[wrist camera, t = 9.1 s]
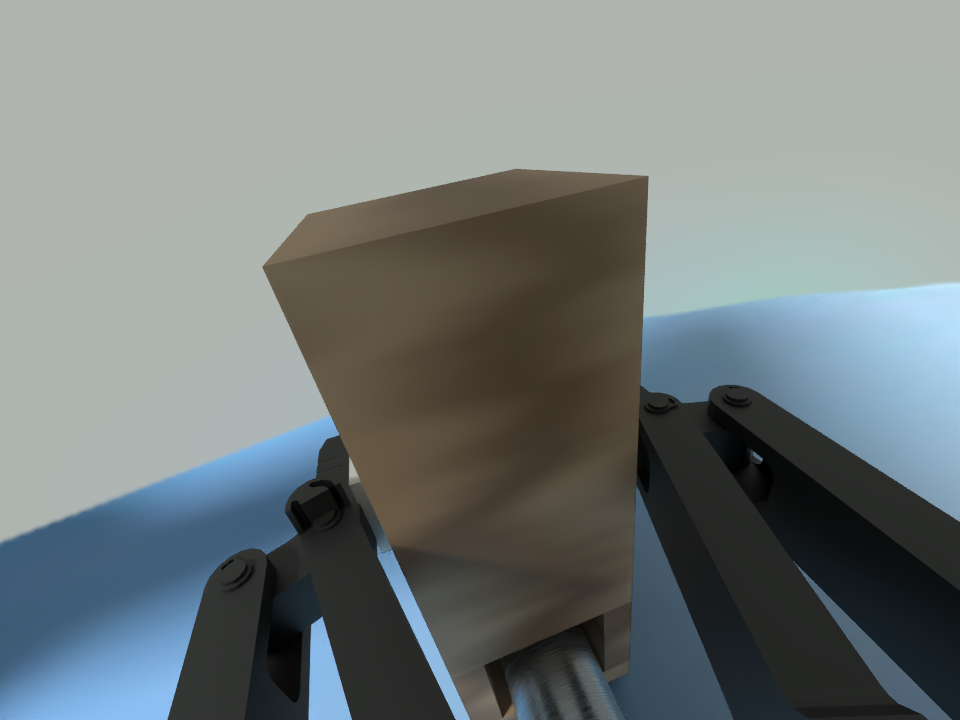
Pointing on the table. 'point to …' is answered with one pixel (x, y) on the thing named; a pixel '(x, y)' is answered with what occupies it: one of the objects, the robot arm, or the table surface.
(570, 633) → the rod stand
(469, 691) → the sleeve
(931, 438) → the table surface
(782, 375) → the table surface
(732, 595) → the robot arm
